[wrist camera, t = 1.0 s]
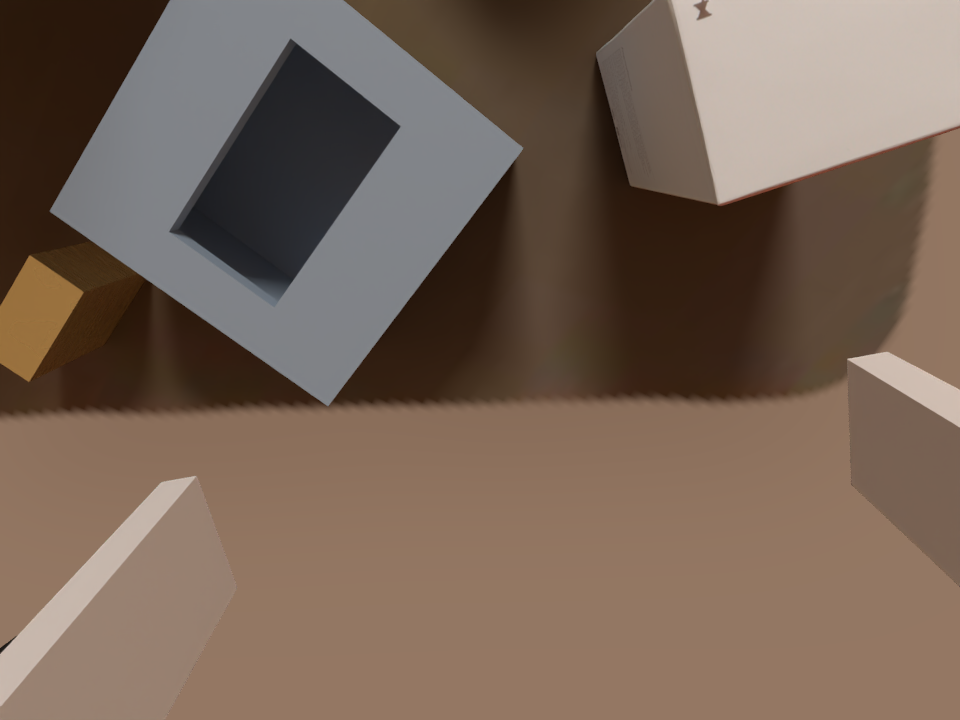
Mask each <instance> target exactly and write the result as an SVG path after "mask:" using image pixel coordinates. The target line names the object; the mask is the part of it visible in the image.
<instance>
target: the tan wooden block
mask: <svg viewBox="0 0 960 720" xmlns="http://www.w3.org/2000/svg"><path fill="white" fill-rule="evenodd" d="M145 280H146V279H145V278H144V277H142V276H141V275H140V274H138V273H137V272H135V271H134V270H132V269H131V268H130V267H128V266H127V265H125V264H124V263H122V262H121V261H120V260H118V259H117V258H115V257H114V256H112V255H111V254H110V253H108V252H107V251H105V250H104V249H102V248H101V247H100V246H98V245H97V244H95V243H94V242H92V241H91V242H87V243H82V244H78V245H73V246H68V247H64V248H59V249H55V250H50V251H46V252H41V253H37V254H32V255H29V257H28V259H27V261H26V262H25V264H24V266H23V268H22V269H21V271H20V273H19V274H18V276H17V278H16V280H15V281H14V283H13V285H12V287H11V288H10V290H9V292H8V294H7V295H6V297H5V299H4V301H3V302H2V304H1V306H0V363H1V364H2V365H4V366H5V367H7V368H8V369H10V370H11V371H13V372H14V373H16V374H18V375H19V376H21V377H22V378H24V379H25V380H27V381H28V382H30V381H32V380H34V379H36V378H38V377H40V376H42V375H44V374H46V373H48V372H51V371H53V370H55V369H57V368H59V367H61V366H63V365H65V364H67V363H69V362H71V361H73V360H75V359H77V358H79V357H81V356H83V355H85V354H87V353H89V352H91V351H93V350H95V349H97V348H99V347H101V346H103V345H105V343H106V342H107V340H108V338H109V337H110V335H111V334H112V332H113V331H114V329H115V327H116V326H117V324H118V323H119V321H120V319H121V318H122V316H123V315H124V313H125V312H126V310H127V308H128V307H129V305H130V304H131V302H132V300H133V299H134V297H135V296H136V294H137V293H138V291H139V289H140V288H141V286H142V285H143V283H144V282H145Z"/></svg>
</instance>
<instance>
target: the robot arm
mask: <svg viewBox="0 0 960 720" xmlns="http://www.w3.org/2000/svg"><path fill="white" fill-rule="evenodd" d="M847 371H848V401H849V432H850V463H851V485H852V486H853V487H854V488H855V489H857V491H858V492H859V493H861V494H862V495H863V496H864V497H865V498H866V499H867V500H868V501H869V502H870V503H871V504H872V505H873V506H874V507H875V508H876V509H877V510H879V511H880V512H881V513H882V514H883V515H884V516H885V517H886V518H887V519H888V520H889V521H890V522H891V523H892V524H893V525H895V526H896V527H897V528H898V529H899V530H900V531H901V532H902V533H903V534H904V535H905V536H906V537H907V538H908V539H910V541H911V542H913V543H914V544H915V545H916V546H917V547H918V548H919V549H920V550H921V551H922V552H923V553H924V554H925V555H926V556H928V557H929V558H930V559H931V560H932V561H933V562H934V563H935V564H936V565H937V566H938V567H939V568H940V569H941V570H942V571H943V572H945V573H946V574H947V575H948V576H949V577H950V578H951V579H952V580H953V581H954V582H955V583H956V584H957V585H958V586H959V587H960V390H959V389H957V388H955V387H953V386H951V385H949V384H948V383H945V382H944V381H942V380H940V379H938V378H936V377H934V376H932V375H931V374H929V373H927V372H925V371H923V370H921V369H919V368H917V367H915V366H914V365H912V364H910V363H908V362H906V361H904V360H902V359H900V358H898V357H896V356H895V355H893V354H891V353H889V352H884V353H878V354H873V355H867V356H862V357H856V358H850V359H847ZM236 589H237V585H236V583H235V580H234V577H233V574H232V572H231V569H230V566H229V563H228V561H227V558H226V555H225V552H224V550H223V547H222V544H221V541H220V538H219V536H218V533H217V530H216V528H215V525H214V522H213V519H212V516H211V513H210V511H209V508H208V505H207V502H206V500H205V497H204V494H203V491H202V489H201V486H200V483H199V480H198V477H197V476H193V477H188V478H182V479H177V480H170V481H165V482H161V483H160V484H159V485H158V486H157V488H155V490H154V491H153V492H152V493H151V494H150V495H149V496H148V497H147V498H146V499H145V500H144V501H143V502H142V503H141V504H140V506H139V507H138V508H137V509H136V510H135V511H134V512H133V513H132V514H131V515H130V516H129V517H128V518H127V519H126V521H125V522H124V523H123V524H122V525H121V526H120V527H119V528H118V529H117V530H116V531H115V532H114V533H113V534H112V536H110V537H109V539H108V540H107V541H106V542H105V543H104V544H103V545H102V546H101V547H100V548H99V549H98V550H97V551H96V552H95V554H94V555H93V556H92V557H91V558H90V559H89V560H88V561H87V562H86V563H85V564H84V565H83V566H82V567H81V568H80V570H79V571H78V572H77V573H76V574H75V575H74V576H73V577H72V578H71V579H70V580H69V581H68V582H67V583H66V585H64V587H63V588H62V589H61V590H60V591H59V592H58V593H57V594H56V595H55V596H54V597H53V598H52V599H51V600H50V602H49V603H48V604H47V605H46V606H45V607H44V608H43V609H42V610H41V611H40V612H39V613H38V614H37V615H36V616H35V617H34V619H33V620H32V621H31V622H30V623H29V624H28V625H27V626H26V627H25V628H24V629H23V630H22V631H21V632H20V633H19V635H18V636H16V637H15V638H13V639H12V640H10V641H9V642H8V643H6V644H5V645H4V646H2V647H1V648H0V720H165V719H166V717H167V715H168V713H169V712H170V710H171V708H172V706H173V704H174V702H175V701H176V699H177V697H178V695H179V693H180V691H181V690H182V688H183V686H184V684H185V682H186V680H187V679H188V677H189V675H190V673H191V671H192V670H193V668H194V666H195V664H196V662H197V660H198V659H199V657H200V655H201V653H202V651H203V649H204V648H205V646H206V644H207V642H208V640H209V638H210V637H211V635H212V633H213V631H214V629H215V627H216V626H217V624H218V622H219V620H220V618H221V616H222V615H223V613H224V611H225V609H226V607H227V606H228V604H229V602H230V600H231V598H232V596H233V595H234V593H235V591H236Z"/></svg>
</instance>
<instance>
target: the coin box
mask: <svg viewBox="0 0 960 720" xmlns="http://www.w3.org/2000/svg"><path fill="white" fill-rule="evenodd" d="M522 150H523V148H522V147H521V146H520V145H519V144H518V143H516V142H515V141H514V140H513V139H511V138H510V137H509V136H508V135H507V134H505V133H504V132H503V131H502V130H500V129H499V128H498V127H497V126H496V125H494V124H493V123H492V122H491V121H490V120H488V119H487V118H486V117H485V116H483V115H482V114H481V113H480V112H479V111H477V110H476V109H475V108H474V107H472V106H471V105H470V104H469V103H468V102H466V101H465V100H464V99H463V98H462V97H460V96H459V95H458V94H457V93H455V92H454V91H453V90H452V89H451V88H449V87H448V86H447V85H446V84H444V83H443V82H442V81H441V80H440V79H438V78H437V77H436V76H435V75H434V74H432V73H431V72H430V71H429V70H427V69H426V68H425V67H424V66H423V65H421V64H420V63H419V62H418V61H416V60H415V59H414V58H413V57H412V56H410V55H409V54H408V53H407V52H406V51H404V50H403V49H402V48H401V47H399V46H398V45H397V44H396V43H395V42H393V41H392V40H391V39H390V38H388V37H387V36H386V35H385V34H384V33H382V32H381V31H380V30H379V29H378V28H376V27H375V26H374V25H373V24H371V23H370V22H369V21H368V20H367V19H365V18H364V17H363V16H362V15H360V14H359V13H358V12H357V11H356V10H354V9H353V8H352V7H351V6H350V5H348V4H347V3H346V2H345V1H343V0H170V1H169V3H168V5H167V7H166V8H165V10H164V12H163V14H162V15H161V17H160V19H159V21H158V22H157V24H156V26H155V28H154V29H153V31H152V33H151V35H150V36H149V38H148V40H147V42H146V43H145V45H144V47H143V49H142V50H141V52H140V54H139V56H138V57H137V59H136V61H135V63H134V64H133V66H132V68H131V70H130V71H129V73H128V75H127V77H126V78H125V80H124V82H123V84H122V85H121V87H120V89H119V91H118V92H117V94H116V96H115V98H114V99H113V101H112V103H111V105H110V106H109V108H108V110H107V112H106V113H105V115H104V117H103V119H102V120H101V122H100V124H99V126H98V127H97V129H96V131H95V133H94V134H93V136H92V138H91V140H90V141H89V143H88V145H87V147H86V148H85V150H84V152H83V154H82V155H81V157H80V159H79V161H78V162H77V164H76V166H75V168H74V169H73V171H72V173H71V175H70V176H69V178H68V180H67V182H66V183H65V185H64V187H63V189H62V190H61V192H60V194H59V196H58V197H57V199H56V201H55V203H54V204H53V206H52V208H51V210H50V212H51V213H52V214H54V215H55V216H57V217H58V218H60V219H61V220H62V221H64V222H65V223H67V224H68V225H70V226H71V227H72V228H74V229H75V230H77V231H78V232H80V233H81V234H82V235H84V236H85V237H87V238H88V239H90V240H91V241H92V242H94V243H95V244H97V245H98V246H100V247H101V248H102V249H104V250H105V251H107V252H108V253H110V254H111V255H112V256H114V257H115V258H117V259H118V260H120V261H121V262H122V263H124V264H125V265H127V266H128V267H130V268H131V269H132V270H134V271H135V272H137V273H138V274H140V275H141V276H142V277H144V278H145V279H147V280H148V281H150V282H151V283H152V284H154V285H155V286H157V287H158V288H160V289H161V290H162V291H164V292H165V293H167V294H168V295H170V296H171V297H172V298H174V299H175V300H177V301H178V302H180V303H181V304H182V305H184V306H185V307H187V308H188V309H190V310H191V311H192V312H194V313H195V314H197V315H198V316H200V317H201V318H202V319H204V320H205V321H207V322H208V323H210V324H211V325H212V326H214V327H215V328H217V329H218V330H220V331H221V332H222V333H224V334H225V335H227V336H228V337H230V338H231V339H232V340H234V341H235V342H237V343H238V344H240V345H241V346H242V347H244V348H245V349H247V350H248V351H250V352H251V353H252V354H254V355H255V356H257V357H258V358H260V359H261V360H262V361H264V362H265V363H267V364H268V365H270V366H271V367H272V368H274V369H275V370H277V371H278V372H280V373H281V374H282V375H284V376H285V377H287V378H288V379H290V380H291V381H292V382H294V383H295V384H297V385H298V386H300V387H301V388H302V389H304V390H305V391H307V392H308V393H310V394H311V395H312V396H314V397H315V398H317V399H318V400H320V401H321V402H322V403H324V404H325V405H327V406H329V404H330V403H331V402H332V400H333V399H334V398H335V397H336V395H337V394H338V393H339V391H340V390H341V389H342V387H343V386H344V385H345V383H346V382H347V381H348V379H349V378H350V377H351V375H352V374H353V373H354V371H355V370H356V369H357V367H358V366H359V365H360V364H361V362H362V361H363V360H364V358H365V357H366V356H367V354H368V353H369V352H370V350H371V349H372V348H373V346H374V345H375V344H376V342H377V341H378V340H379V338H380V337H381V336H382V334H383V333H384V332H385V331H386V329H387V328H388V327H389V325H390V324H391V323H392V321H393V320H394V319H395V317H396V316H397V315H398V313H399V312H400V311H401V309H402V308H403V307H404V305H405V304H406V303H407V301H408V300H409V299H410V298H411V296H412V295H413V294H414V292H415V291H416V290H417V288H418V287H419V286H420V284H421V283H422V282H423V280H424V279H425V278H426V276H427V275H428V274H429V272H430V271H431V270H432V269H433V267H434V266H435V265H436V263H437V262H438V261H439V259H440V258H441V257H442V255H443V254H444V253H445V251H446V250H447V249H448V247H449V246H450V245H451V243H452V242H453V241H454V239H455V238H456V237H457V236H458V234H459V233H460V232H461V230H462V229H463V228H464V226H465V225H466V224H467V222H468V221H469V220H470V218H471V217H472V216H473V214H474V213H475V212H476V210H477V209H478V208H479V206H480V205H481V204H482V203H483V201H484V200H485V199H486V197H487V196H488V195H489V193H490V192H491V191H492V189H493V188H494V187H495V185H496V184H497V183H498V181H499V180H500V179H501V177H502V176H503V175H504V173H505V172H506V171H507V170H508V168H509V167H510V166H511V164H512V163H513V162H514V160H515V159H516V158H517V156H518V155H519V154H520V152H521V151H522Z"/></svg>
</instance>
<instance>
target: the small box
mask: <svg viewBox="0 0 960 720" xmlns="http://www.w3.org/2000/svg"><path fill="white" fill-rule="evenodd" d="M596 57H597V60H598V64H599V67H600V72H601V75H602V79H603V83H604V86H605V91H606V95H607V98H608V102H609V106H610V109H611V113H612V117H613V121H614V125H615V129H616V133H617V137H618V141H619V145H620V149H621V153H622V157H623V161H624V164H625V168H626V172H627V176H628V180H629V184H630V186H632V187H636V188H641V189H646V190H651V191H655V192H660V193H664V194H668V195H673V196H678V197H683V198H687V199H692V200H697V201H701V202H706V203H710V204H714V205H718V206H723V205H726V204H730V203H733V202H736V201H739V200H742V199H745V198H748V197H751V196H754V195H758V194H761V193H764V192H767V191H770V190H773V189H776V188H779V187H782V186H785V185H789V184H792V183H795V182H798V181H801V180H804V179H807V178H810V177H813V176H816V175H819V174H822V173H825V172H828V171H831V170H834V169H837V168H840V167H843V166H846V165H849V164H852V163H855V162H858V161H861V160H865V159H868V158H871V157H874V156H877V155H880V154H883V153H886V152H889V151H892V150H895V149H897V148H900V147H903V146H906V145H910V144H913V143H916V142H919V141H922V140H925V139H928V138H931V137H934V136H937V135H940V134H943V133H946V132H949V131H952V130H955V129H958V128H960V0H653V1H652V2H651V3H650V4H649V5H648V6H647V7H646V8H644V9H643V10H642V11H641V12H640V13H639V14H638V15H637V16H636V17H635V18H634V19H632V20H631V21H630V22H629V23H628V24H627V25H626V26H625V27H624V28H623V29H622V30H621V31H620V32H619V33H618V34H617V35H616V36H615V37H614V38H613V39H611V40H610V41H609V42H608V43H607V44H605V45H604V46H603V47H602V48H601V49H600V50H599V51H597V52H596Z"/></svg>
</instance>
